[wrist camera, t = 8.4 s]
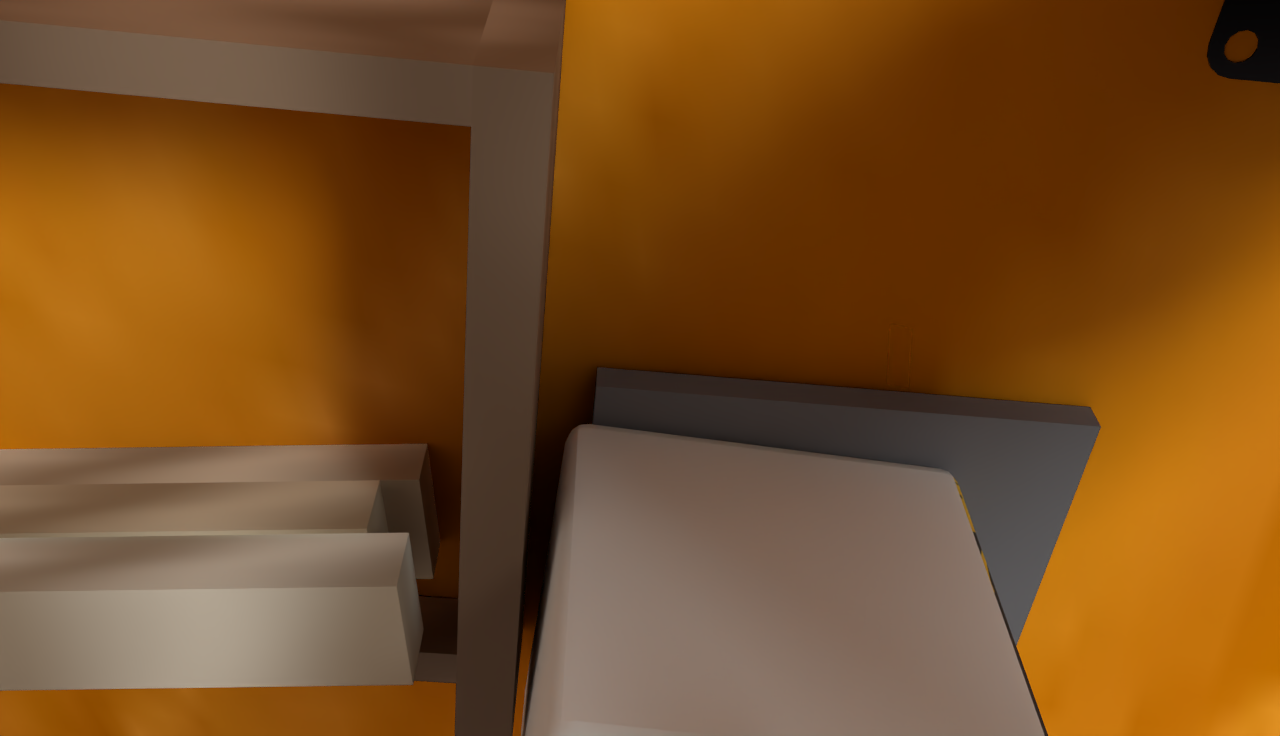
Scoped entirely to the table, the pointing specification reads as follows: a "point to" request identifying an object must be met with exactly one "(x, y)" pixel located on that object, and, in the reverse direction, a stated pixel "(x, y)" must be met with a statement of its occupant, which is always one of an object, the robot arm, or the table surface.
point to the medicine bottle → (765, 598)
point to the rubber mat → (893, 448)
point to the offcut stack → (214, 566)
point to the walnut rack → (497, 232)
